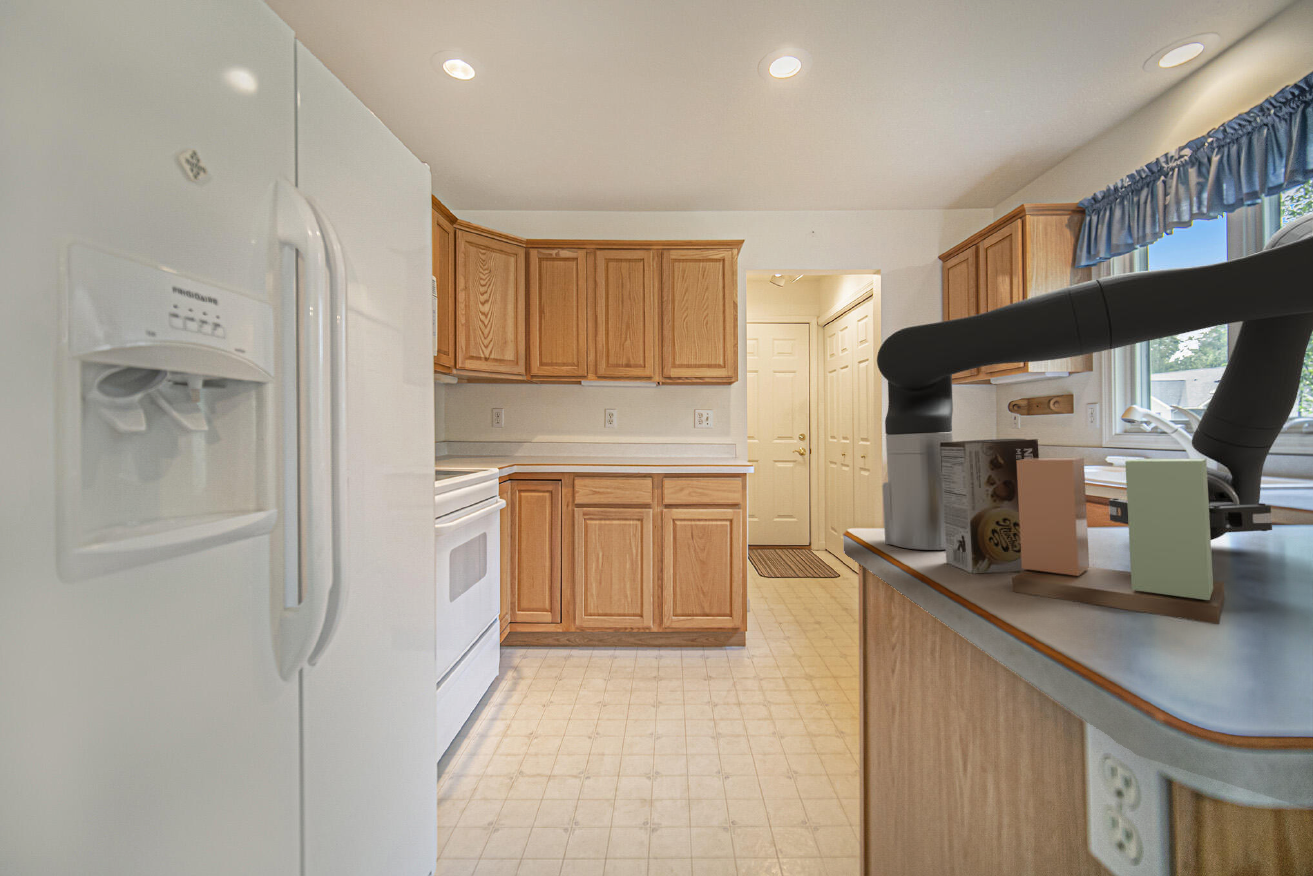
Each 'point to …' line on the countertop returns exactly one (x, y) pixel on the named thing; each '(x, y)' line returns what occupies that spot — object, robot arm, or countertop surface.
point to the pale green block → (1169, 527)
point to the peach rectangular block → (1053, 515)
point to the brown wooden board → (1118, 593)
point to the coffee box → (983, 503)
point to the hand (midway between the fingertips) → (1174, 523)
